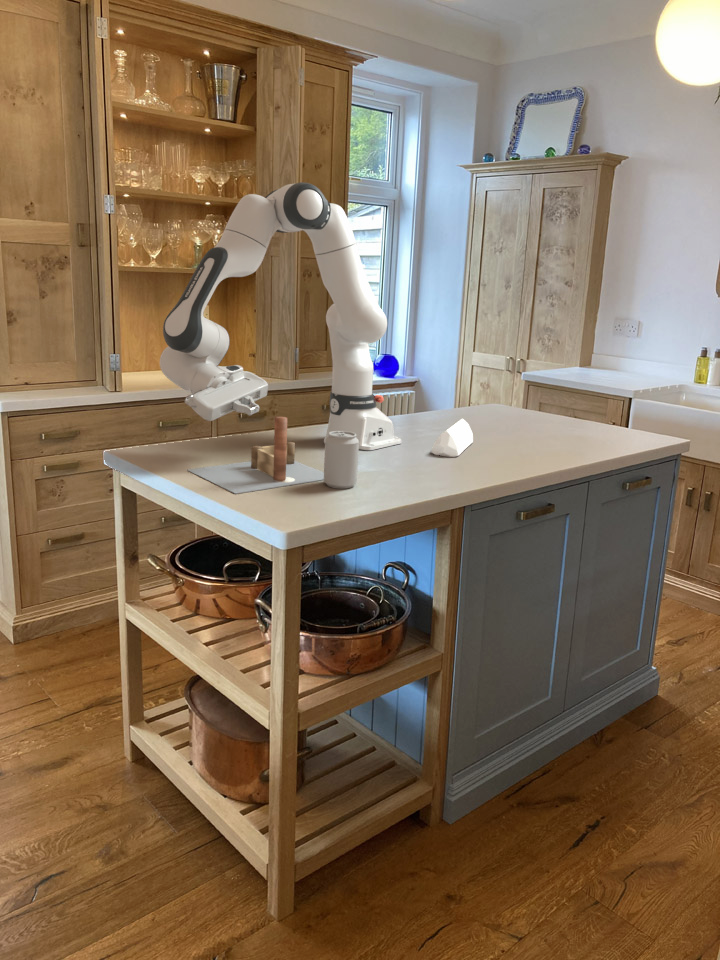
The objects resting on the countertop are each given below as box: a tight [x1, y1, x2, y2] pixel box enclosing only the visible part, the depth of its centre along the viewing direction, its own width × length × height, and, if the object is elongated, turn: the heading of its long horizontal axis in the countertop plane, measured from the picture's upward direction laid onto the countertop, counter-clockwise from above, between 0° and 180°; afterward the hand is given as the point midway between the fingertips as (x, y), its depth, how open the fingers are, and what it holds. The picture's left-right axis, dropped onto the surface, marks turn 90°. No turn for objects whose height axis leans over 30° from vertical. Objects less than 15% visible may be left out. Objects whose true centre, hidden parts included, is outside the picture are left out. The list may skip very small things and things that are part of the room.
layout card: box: [186, 460, 324, 495], centre depth 179 cm, size 27×22×1 cm
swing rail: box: [257, 416, 288, 481], centre depth 176 cm, size 12×3×14 cm, turn 33°
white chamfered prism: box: [430, 418, 474, 458], centre depth 215 cm, size 7×7×24 cm
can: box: [323, 431, 360, 490], centre depth 172 cm, size 8×8×12 cm
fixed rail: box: [250, 441, 296, 469], centre depth 186 cm, size 12×2×5 cm, turn 129°
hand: (255, 411), depth 181 cm, fingers closed
